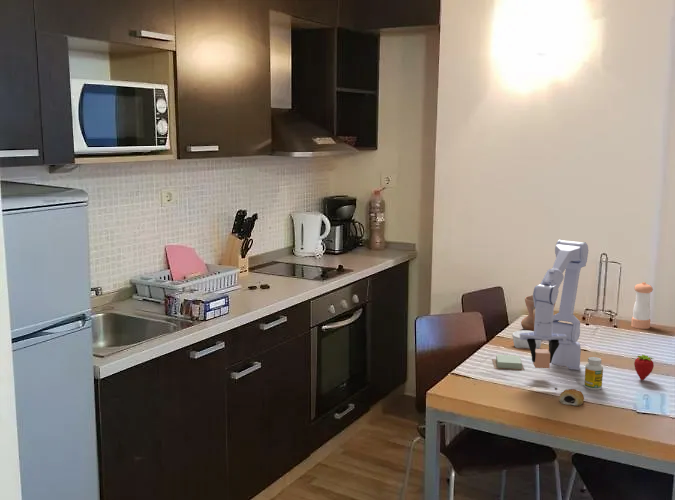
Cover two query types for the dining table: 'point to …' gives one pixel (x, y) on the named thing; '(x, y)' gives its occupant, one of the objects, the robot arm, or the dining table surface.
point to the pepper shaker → (642, 306)
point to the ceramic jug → (530, 319)
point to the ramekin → (523, 343)
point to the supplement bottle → (593, 374)
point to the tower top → (508, 361)
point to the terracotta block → (542, 358)
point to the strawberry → (643, 366)
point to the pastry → (571, 397)
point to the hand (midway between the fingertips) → (541, 361)
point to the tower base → (504, 368)
